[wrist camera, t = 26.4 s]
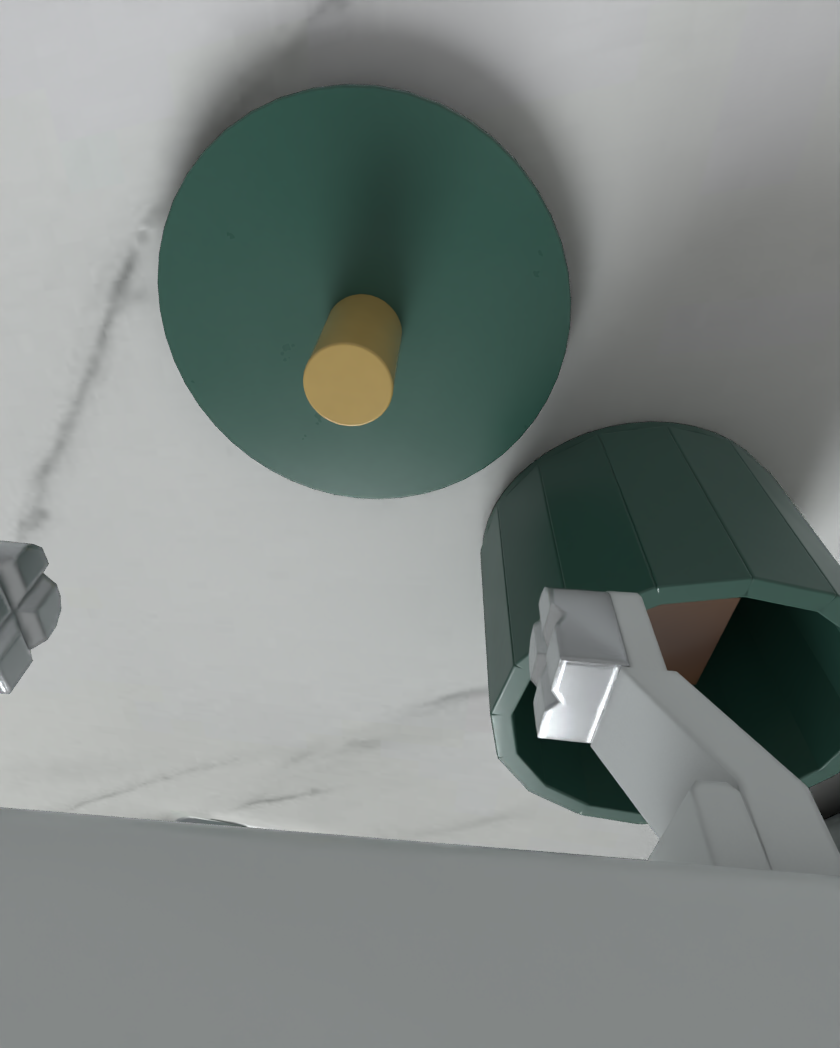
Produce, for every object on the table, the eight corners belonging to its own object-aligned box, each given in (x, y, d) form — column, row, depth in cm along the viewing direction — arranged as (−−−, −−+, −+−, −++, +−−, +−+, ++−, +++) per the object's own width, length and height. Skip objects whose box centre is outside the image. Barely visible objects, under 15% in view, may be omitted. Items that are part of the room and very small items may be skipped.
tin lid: (171, 442, 24) (113, 525, 20) (168, 22, 16) (73, 14, 12) (497, 511, 25) (506, 602, 21) (632, 152, 18) (688, 185, 14)
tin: (450, 620, 29) (451, 794, 22) (536, 388, 22) (574, 540, 15) (690, 666, 30) (759, 844, 24) (842, 460, 23) (1002, 629, 17)
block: (583, 507, 25) (606, 586, 21) (699, 517, 25) (742, 597, 21) (559, 592, 27) (576, 676, 24) (663, 601, 27) (696, 685, 24)
